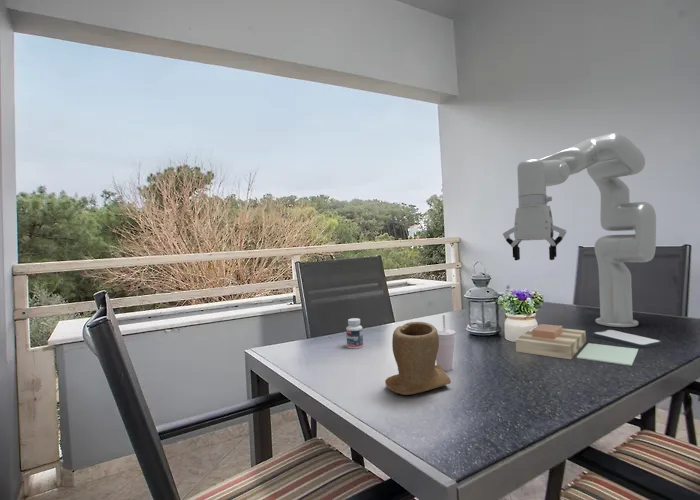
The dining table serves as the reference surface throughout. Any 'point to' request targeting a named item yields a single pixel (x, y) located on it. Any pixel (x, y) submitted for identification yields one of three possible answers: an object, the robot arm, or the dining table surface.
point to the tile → (547, 331)
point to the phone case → (627, 339)
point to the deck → (552, 344)
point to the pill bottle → (354, 334)
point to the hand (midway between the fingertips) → (534, 259)
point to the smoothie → (445, 347)
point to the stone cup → (416, 359)
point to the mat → (608, 354)
